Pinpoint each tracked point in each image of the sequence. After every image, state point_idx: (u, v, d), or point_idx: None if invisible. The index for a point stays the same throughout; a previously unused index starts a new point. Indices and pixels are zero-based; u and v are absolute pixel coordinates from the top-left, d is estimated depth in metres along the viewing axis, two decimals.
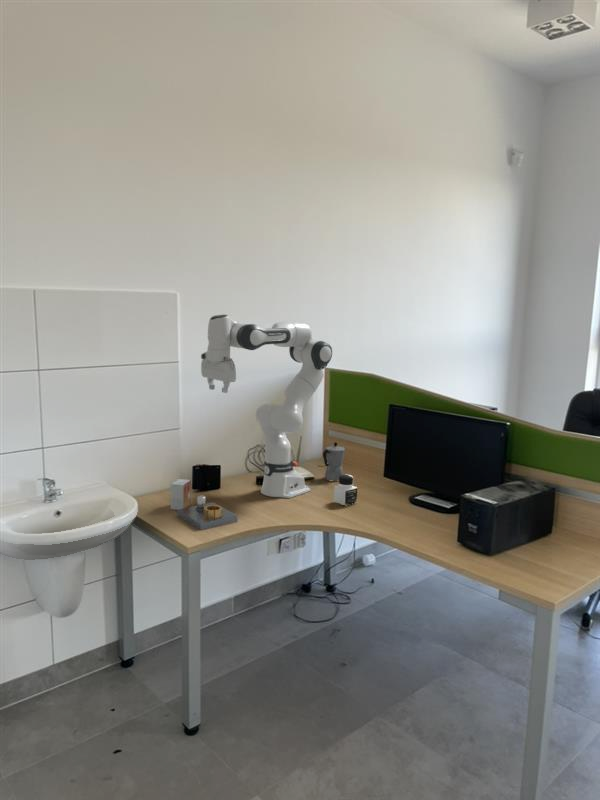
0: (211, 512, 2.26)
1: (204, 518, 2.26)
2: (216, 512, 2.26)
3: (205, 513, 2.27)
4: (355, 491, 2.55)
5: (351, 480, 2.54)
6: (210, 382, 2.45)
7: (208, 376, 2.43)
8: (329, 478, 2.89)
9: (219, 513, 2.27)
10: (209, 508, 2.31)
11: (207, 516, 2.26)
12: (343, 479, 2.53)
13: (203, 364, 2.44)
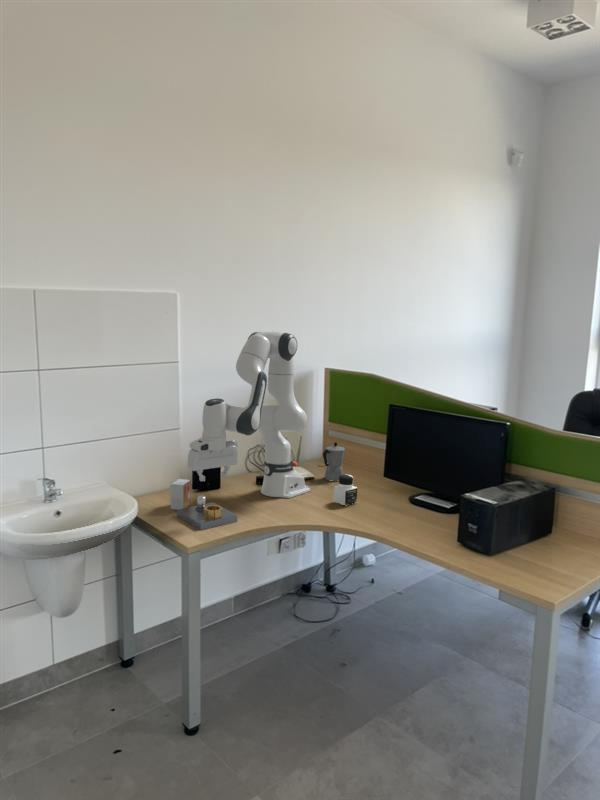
0: (211, 512, 2.26)
1: (204, 518, 2.26)
2: (216, 512, 2.26)
3: (205, 513, 2.27)
4: (355, 491, 2.55)
5: (351, 480, 2.54)
6: None
7: (205, 467, 2.22)
8: (329, 478, 2.89)
9: (219, 513, 2.27)
10: (209, 508, 2.31)
11: (207, 516, 2.26)
12: (343, 479, 2.53)
13: (197, 457, 2.19)
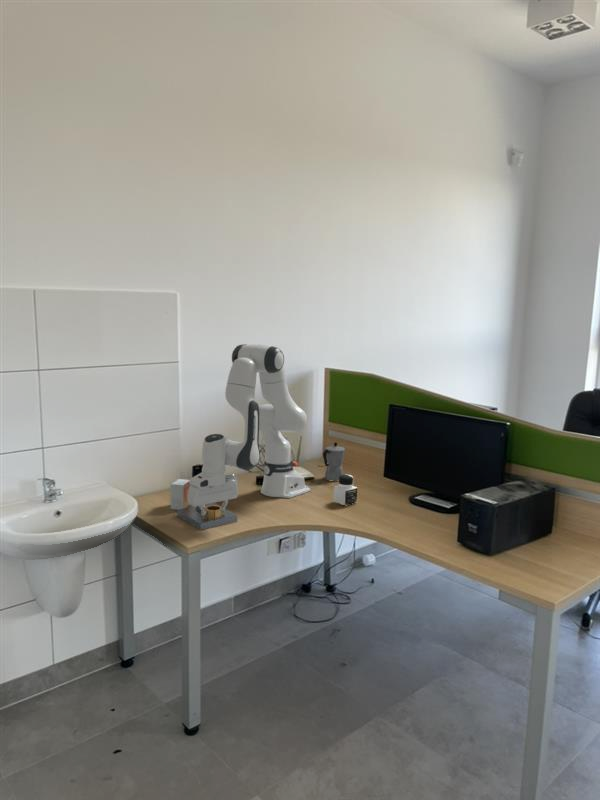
0: (211, 512, 2.26)
1: (204, 518, 2.26)
2: (216, 512, 2.26)
3: None
4: (355, 491, 2.55)
5: (351, 480, 2.54)
6: None
7: (205, 503, 2.24)
8: (329, 478, 2.89)
9: (219, 513, 2.27)
10: (209, 508, 2.31)
11: (207, 516, 2.26)
12: (343, 479, 2.53)
13: (197, 493, 2.21)
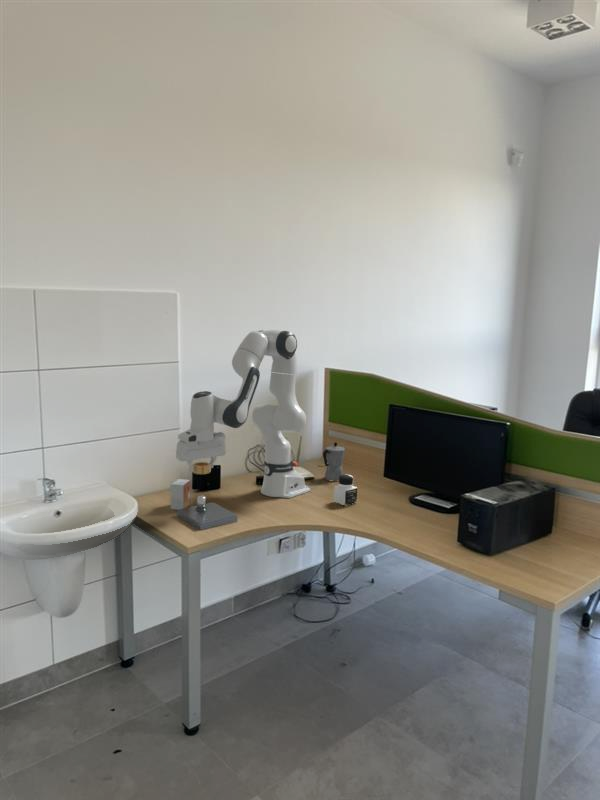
0: (199, 467, 2.30)
1: (204, 518, 2.26)
2: (204, 468, 2.31)
3: None
4: (355, 491, 2.55)
5: (351, 480, 2.54)
6: None
7: (193, 458, 2.29)
8: (329, 478, 2.89)
9: (207, 469, 2.32)
10: (198, 464, 2.35)
11: (195, 471, 2.31)
12: (343, 479, 2.53)
13: (186, 447, 2.26)
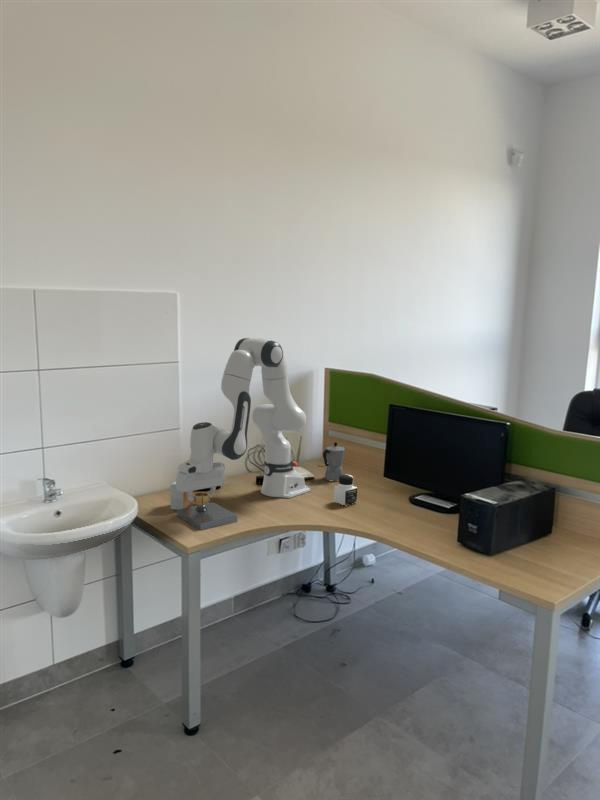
0: (199, 498, 2.32)
1: (204, 518, 2.26)
2: (204, 498, 2.32)
3: None
4: (355, 491, 2.55)
5: (351, 480, 2.54)
6: None
7: (193, 489, 2.30)
8: (329, 478, 2.89)
9: (207, 499, 2.33)
10: (197, 494, 2.37)
11: (195, 502, 2.33)
12: (343, 479, 2.53)
13: (185, 479, 2.27)
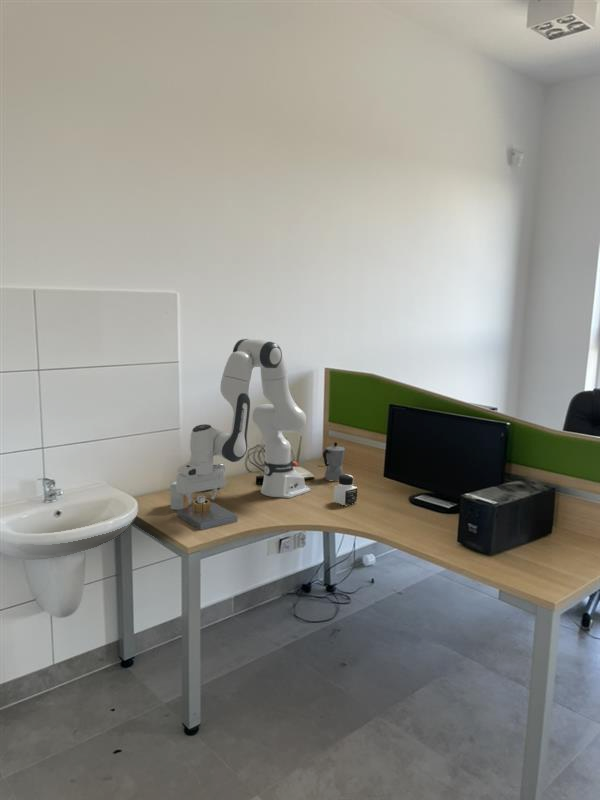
0: (199, 505, 2.33)
1: (204, 518, 2.26)
2: (204, 505, 2.33)
3: (193, 506, 2.34)
4: (355, 491, 2.55)
5: (351, 480, 2.54)
6: None
7: (193, 491, 2.31)
8: (329, 478, 2.89)
9: (207, 506, 2.34)
10: None
11: (195, 509, 2.33)
12: (343, 479, 2.53)
13: (185, 481, 2.28)
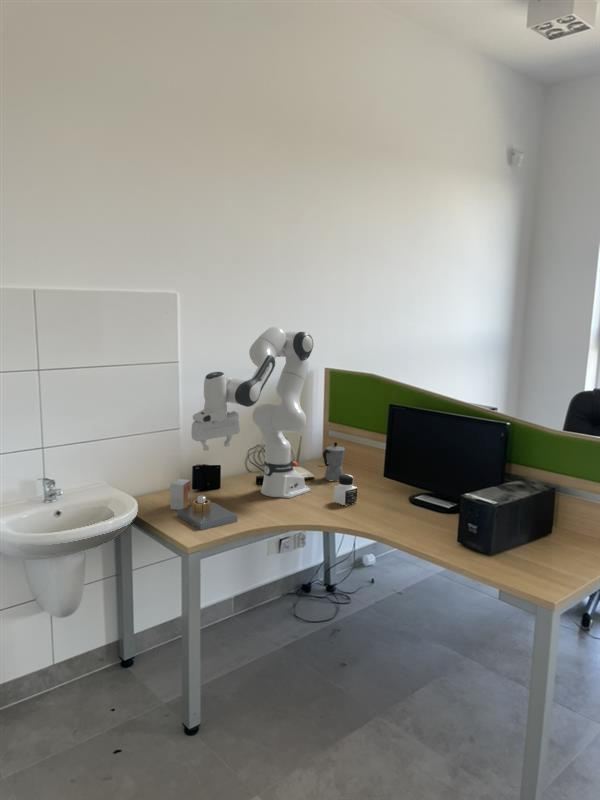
0: (199, 505, 2.33)
1: (204, 518, 2.26)
2: (204, 505, 2.33)
3: (193, 506, 2.34)
4: (355, 491, 2.55)
5: (351, 480, 2.54)
6: None
7: (208, 437, 2.34)
8: (329, 478, 2.89)
9: (207, 506, 2.34)
10: None
11: (195, 509, 2.33)
12: (343, 479, 2.53)
13: (201, 427, 2.31)
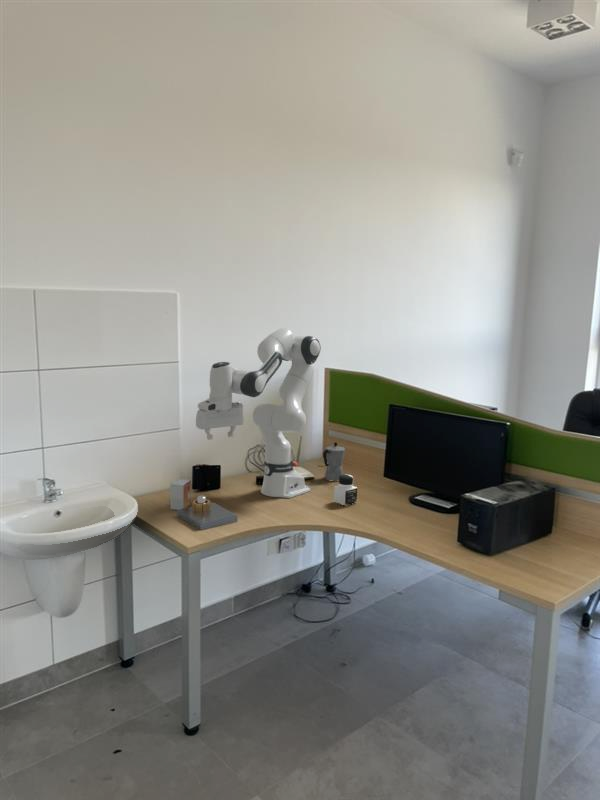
0: (199, 505, 2.33)
1: (204, 518, 2.26)
2: (204, 505, 2.33)
3: (193, 506, 2.34)
4: (355, 491, 2.55)
5: (351, 480, 2.54)
6: None
7: (212, 426, 2.36)
8: (329, 478, 2.89)
9: (207, 506, 2.34)
10: None
11: (195, 509, 2.33)
12: (343, 479, 2.53)
13: (205, 416, 2.33)
